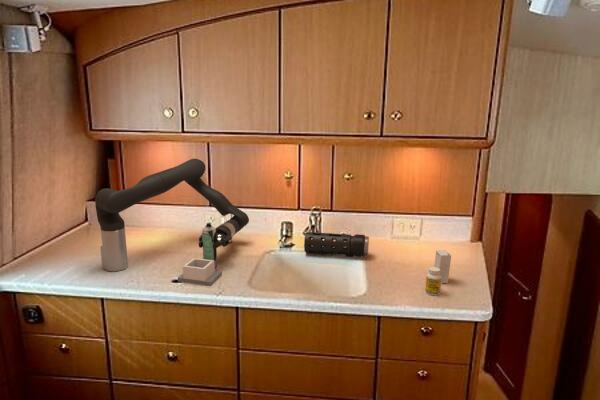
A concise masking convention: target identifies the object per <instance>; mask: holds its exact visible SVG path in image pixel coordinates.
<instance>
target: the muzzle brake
mask: <svg viewBox="0 0 600 400" xmlns="http://www.w3.org/2000/svg"><path fill="white" fill-rule="evenodd" d="M369 240H370V237H369V236H366V235H365V234H359V233H358V234H354V235H352V234H347V233H346V234H345V233H330V232H329V233H328V232H311V231H306V232H305V235H304V242H303V243H304V244H303V248H304V252H305V253H306V254H308V255H309V254H311V255H313V254H314V255H324V256H325V255H326V256H327V255H331V256H333V255H343V256H345V257H350V258H354V257H355V256H356V257H365V256H368V255H369V244H370V241H369Z"/></svg>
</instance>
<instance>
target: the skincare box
mask: <svg viewBox="0 0 600 400" xmlns="http://www.w3.org/2000/svg"><path fill="white" fill-rule="evenodd" d="M434 256H435V258H434V264H433V265H434V266H433V267H437V268H439V269H440V273H439V274H440V275H441V283H446V284H448V282H449V276H450V269H451V261H452V254H450V252H449V251H448V250H447V249H436V250H435V255H434Z"/></svg>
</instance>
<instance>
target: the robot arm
mask: <svg viewBox="0 0 600 400" xmlns="http://www.w3.org/2000/svg"><path fill="white" fill-rule="evenodd" d="M205 172H206V163H204V161H203V160H201V159H198V158H190V159H188V160H187V161H184V162H182V163H180V164H178V165H176V166H174V167H170V168H167V169H164V170H162V171H161V170H160V171H158V172H155V173H152V174H149V175H146V176H145V177H143V178H141V180H139V182H137V183H136V184H134V185H133V186H131V187H128V188H125V189H122V190H121V189H120V190H115V189H112V188H108V187H107V188H102V189H100V190H98V191H97V193H96V196H95V199H94V203H95V211H96V212H95V213H96V219H97V221H98V224H99V226H100V235H101V244H102V245H101V246H100V256H101V259H100V260H101V267H102V269H104V270H105V271H108V272H119V271H123V270H125V269H127V268H128V267H129V263H128V262H129V260H128V249H127V248H128V247H127V239H126V238H127V237H126V235H127V234H126V227H125V225H126V224H125V219H123V217H122V216H121V215H120V213H121V212H123V211H125V210H127V209H129V208H131V207H132V206H134V205H136V204H138V203H141V202H144V201H148V200H149V199H152V198H155V197H157V196H160V195H162V194H164V193H166V192H168V191H170V190H172V189H174V188H175V187H176V186H178V185H179V184H180V183H182V182H185V183H186V184H187V185H189V186H190V187H191V188H193V190H195V191H196V192H197V193H198V194H200V195H201V196H202V197H204V199H206V200H207V201H208V202H209V204H211V205H212V206H213V208H215V210H216V211H217V212H218V213H219V214H220V215H221V216H222V217H226V216H228V215H233V216H232V217H231V218H230V219H228V220H226V221H225V222H223V223H220V225H218V226H217V227H215V228H216V229H215V230H216V242H215V243H214V244H213V249H218V248H220V247H223V248H224V247H227V246H228V245H231V244H233V237H234V236H235V235H236V234H237V233H238V232H239V233H240V231H242V229H243V228H244V227H246V226H247V225H248V224H249V221H250V218H249V216H248V214H247V213H246V212H245V211H243V210H242V209H239V208H238V207H237V206H236V205H234V204H232V202H231V201H230V200H229V199H228V198H227V197H226V196H225V195H224V193H222V192H220V191H219V190H217V189H215V188H213V187H211V186H209V185H208V184H207V183H205V181H204V180H203V179H202V177H203V176H204V174H205ZM198 247H199V248H200V249H201V248H202V249H203V239H202V234H201V235H200V236H199V237H198Z"/></svg>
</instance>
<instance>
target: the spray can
mask: <svg viewBox="0 0 600 400" xmlns="http://www.w3.org/2000/svg"><path fill="white" fill-rule="evenodd" d="M216 228H217V227H214V226H213V225H212V223H211V222H207V223H206V225H205V226H204V227H203V228H201V229H202V230H201V231H202V232H201V235H202V239H203V247H202V256H203V258H202V259H206V260H214V264H215V271H217V270H218V254H217V253H218V252H217V251H218V250H217V249H218V248H216V249H213V244H214V243H215V242H216V230H215V229H216Z"/></svg>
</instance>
